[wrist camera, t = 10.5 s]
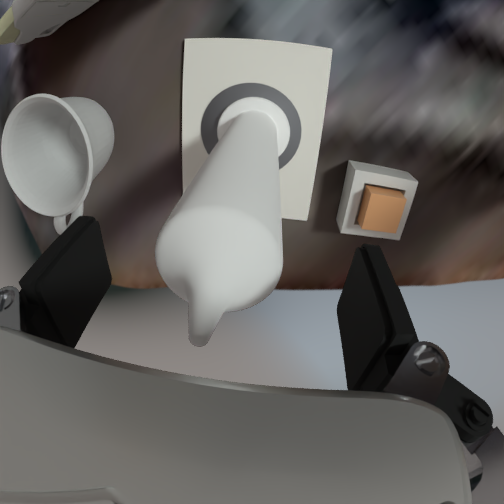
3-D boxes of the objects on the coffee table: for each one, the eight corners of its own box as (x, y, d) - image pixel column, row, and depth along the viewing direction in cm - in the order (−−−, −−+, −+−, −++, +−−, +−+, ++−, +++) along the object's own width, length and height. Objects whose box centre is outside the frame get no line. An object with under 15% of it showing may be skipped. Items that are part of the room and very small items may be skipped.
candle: (239, 175, 31) (177, 411, 10) (205, 117, 27) (36, 286, 7) (301, 146, 29) (362, 376, 8) (269, 84, 25) (255, 160, 5)
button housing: (407, 171, 29) (418, 181, 27) (391, 226, 34) (399, 240, 31) (348, 160, 29) (355, 169, 27) (335, 219, 34) (340, 233, 31)
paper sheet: (331, 49, 23) (332, 49, 23) (306, 219, 34) (306, 221, 33) (186, 39, 23) (184, 38, 23) (184, 207, 34) (183, 209, 34)
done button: (399, 191, 28) (406, 199, 27) (390, 224, 31) (395, 233, 29) (365, 185, 28) (371, 193, 27) (357, 219, 31) (361, 229, 29)
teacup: (68, 199, 34) (24, 240, 26) (50, 90, 25) (-8, 110, 17) (147, 198, 34) (110, 246, 25) (135, 72, 25) (82, 80, 17)
